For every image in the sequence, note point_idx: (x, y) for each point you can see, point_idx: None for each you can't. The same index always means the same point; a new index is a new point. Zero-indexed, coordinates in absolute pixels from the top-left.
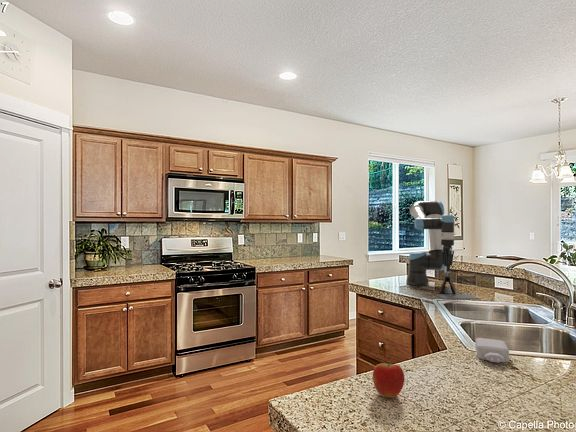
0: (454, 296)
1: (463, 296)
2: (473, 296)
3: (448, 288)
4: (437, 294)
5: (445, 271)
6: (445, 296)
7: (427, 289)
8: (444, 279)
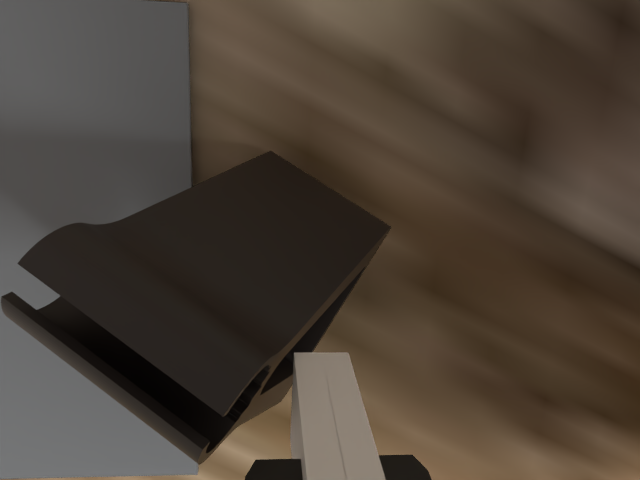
0: (33, 238)
1: (44, 353)
2: (55, 467)
3: (322, 316)
4: (167, 53)
5: (322, 425)
6: (19, 104)
7: (589, 117)
8: (261, 284)
